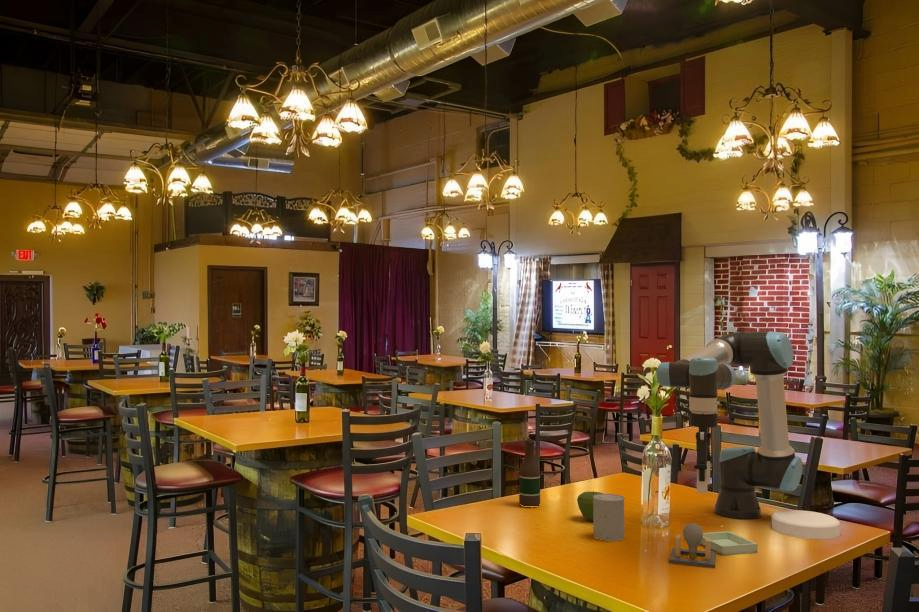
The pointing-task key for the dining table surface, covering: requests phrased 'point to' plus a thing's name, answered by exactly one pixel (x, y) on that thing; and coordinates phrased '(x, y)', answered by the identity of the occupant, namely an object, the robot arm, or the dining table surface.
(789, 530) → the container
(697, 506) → the dining table surface
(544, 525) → the dining table surface
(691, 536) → the light bulb
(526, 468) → the beer bottle
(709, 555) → the frame
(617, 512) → the gray cylinder
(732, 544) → the parts tray
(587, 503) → the apple
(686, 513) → the dining table surface
